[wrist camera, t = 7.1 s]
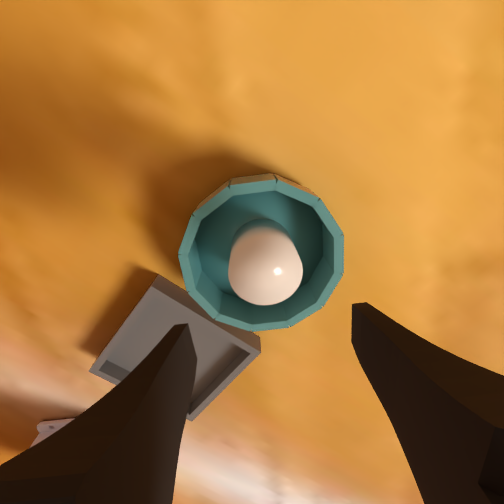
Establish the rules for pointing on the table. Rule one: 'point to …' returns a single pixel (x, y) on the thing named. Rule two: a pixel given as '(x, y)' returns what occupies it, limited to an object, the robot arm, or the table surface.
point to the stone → (264, 263)
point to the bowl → (220, 239)
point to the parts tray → (203, 335)
